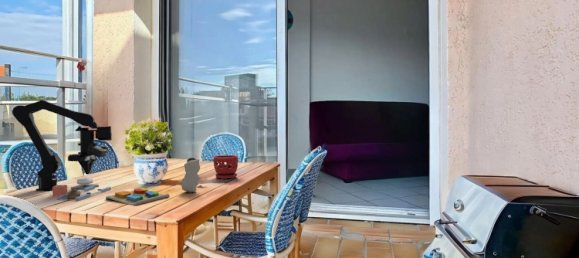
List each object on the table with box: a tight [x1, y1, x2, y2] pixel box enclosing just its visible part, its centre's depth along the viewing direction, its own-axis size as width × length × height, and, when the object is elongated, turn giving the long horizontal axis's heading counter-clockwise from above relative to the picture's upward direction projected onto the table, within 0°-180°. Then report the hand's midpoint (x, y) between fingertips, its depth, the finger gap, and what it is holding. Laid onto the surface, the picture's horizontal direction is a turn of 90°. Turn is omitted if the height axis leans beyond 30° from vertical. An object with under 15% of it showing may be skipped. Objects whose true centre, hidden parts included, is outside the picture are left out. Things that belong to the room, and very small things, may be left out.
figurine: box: [180, 157, 201, 193], centre depth 167 cm, size 9×10×15 cm
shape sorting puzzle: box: [105, 187, 170, 206], centre depth 154 cm, size 18×19×4 cm
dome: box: [76, 177, 94, 185], centre depth 172 cm, size 6×6×2 cm
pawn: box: [67, 189, 81, 200], centre depth 152 cm, size 4×4×4 cm
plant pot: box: [213, 154, 239, 180], centre depth 203 cm, size 13×13×12 cm
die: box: [52, 184, 68, 197], centre depth 158 cm, size 4×4×4 cm
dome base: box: [70, 183, 100, 191], centre depth 173 cm, size 8×8×1 cm
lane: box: [56, 186, 112, 202], centre depth 159 cm, size 10×21×2 cm, turn 172°
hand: (87, 174), depth 174 cm, fingers closed
